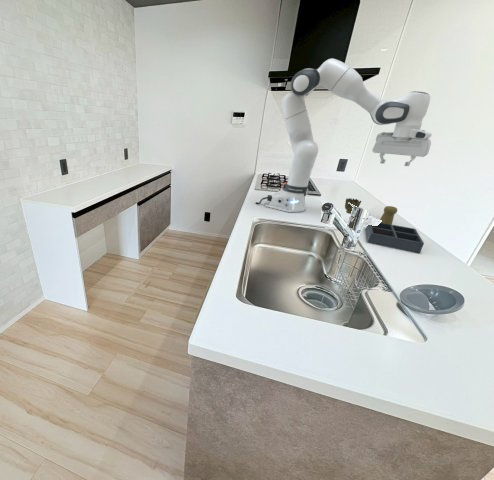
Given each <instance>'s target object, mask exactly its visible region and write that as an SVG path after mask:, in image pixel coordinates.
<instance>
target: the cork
mask: <svg viewBox="0 0 494 480" xmlns="http://www.w3.org/2000/svg"><path fill="white" fill-rule="evenodd" d="M397 213H398V208H397V207H396V206H393V205H387V206H385V207H384V208H383V214H382V215H381V217H380V218H379V220H382V222H381V223H385V224H391V225H393V222H394V218H395V215H396V214H397Z"/></svg>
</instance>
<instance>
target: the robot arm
mask: <svg viewBox="0 0 494 480" xmlns="http://www.w3.org/2000/svg"><path fill="white" fill-rule="evenodd" d="M318 87H324V88H325V89H327V90H328V91H329V92H331V93H332V94H334V95H335V96H337V97H340V98H342V99H345V100H348V101H351V102H354V103H355V104H357V105H358V106H359V107H361V108H362V109H363V110H365V111H366V112H367V113H369V115H370V117H371V118H370V119H371V120H372V121H373V123H374V124H376V125H379V126H385V125H386V126H387V125H391V124H395V126H394V128H393V129H394V130H393V131H392V132H391V131H390V132H385V131H383V132H380V133H378V134H377V135H376V137H375V142H374V145H373V147H372V153H374V154H379V157H380V160H379V161H380V164H381V165H382V164H385V163H386V159H385V158H384V156H385V155H395V156H397V155H398V156H408V157H410V159H409V160H408V161H405V162H404V163H405V164H404V165H403V166H404V167H410V165H411V163H413V161H414V160H415V159H416V158H417V157H419V158H424V157H427V156H428V155H429V152H430V149H431V145H432V141H431V139H430V138H431V137H432V135H433V134H432V132H430V131H426V130H424V129H421V128H422V125H423V123H422V122H423V119H424V117H425V116H426V115H427V112H428V109H429V106H430V103H431V95H430V94H429V93H428V92H425V91H416V90H415V91H410V92H408V93H406V94H404V95H403V96H399V97H397V98H394V99H391V100H383V99H381V98H379V97H378V96H376V95H375V94H374V93H372V92H371V91H370V90H368V89H367V87H366V86H365V84H364V80H363V77H362V76H361V74H359V72H358V71H357V70H356V69H354V68H353V67H352V66H350V65H349V64H346V63H345V62H343V61H341V60H339V59H337V58H328V59H327V60H325V61H323V62H322V64H321V65H320V66H319V67H318V68H311V67H309V68H308V67H307V68H304V69H301V70H299V71H297V72H296V73H295V74H294V76H292V79H291V81H290V89H291V91H290V92H288V93H286V94H285V95H284V96H283V98H282V99H281V111H282V116H283V119H284V124H285V126H286V129H287V133H288V137H289V141H290V145H291V148H292V152H293V159H292V162H291V166H290V169H289V173H288V178H287V182H286V181H285V182H284V183H283V184H282V189H280V190H278V191H277V192H273V194H267V196H265V197H262V198H261V199H260V200H259V202H257V201H256V202H255V204H256V205H261V204H262V201H263V200H266V201H265V204H264V206H265V207H267V208H271V209H274V210H279V211H282V212H287V213H299V212H300V213H301V212H304V211H305V209H306V208H305V207H306V203H305V202H306V196H307V194H308V190H309V182H310V177H311V174H312V171H313V168H314V166H315V163H316V160H317V157H318V154H319V145H318V144H317V142H315V139H314V136H313V131H312V125H311V122H310V121H311V120H310V117H309V113H308V110H307V106H306V100H305V99H306V97H307V96H309V95H310V93H312V92H313V91H315V90H316V88H318Z"/></svg>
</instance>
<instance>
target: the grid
mask: <svg viewBox="0 0 494 480" xmlns="http://www.w3.org/2000/svg"><path fill="white" fill-rule="evenodd" d="M365 235H366V240H367V241H366V242H367V243H369V244H374V245H378V246H383V247H388V248H392V249H396V250H402V251H406V252H411V253H416V254H420V252H421V251H422V249H423V247H424V245H425V242H424V241H423V239H422V237H421V236H420V234H419V232H418V231H417V229H416V228H414V227H413V228H412V227H408V226H403V225H402V226H401V225H396V224H392V225H391V224H385V223H380V224H379V225H378V226H372V225H368V226H367V225H366V226H365Z"/></svg>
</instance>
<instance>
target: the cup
mask: <svg viewBox="0 0 494 480" xmlns="http://www.w3.org/2000/svg"><path fill="white" fill-rule="evenodd" d="M348 202H350V203H351V204H353V205H355V206H357V207H358V208H359V207H360V205H361V204H362V200H359V199H357V198H352V197H349V198H348V197H347V198H345V203H344V209H345V213H346V214H350V215H352V214H351V211H352V208H353V207H352V206H351V205H350V204H348Z"/></svg>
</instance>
